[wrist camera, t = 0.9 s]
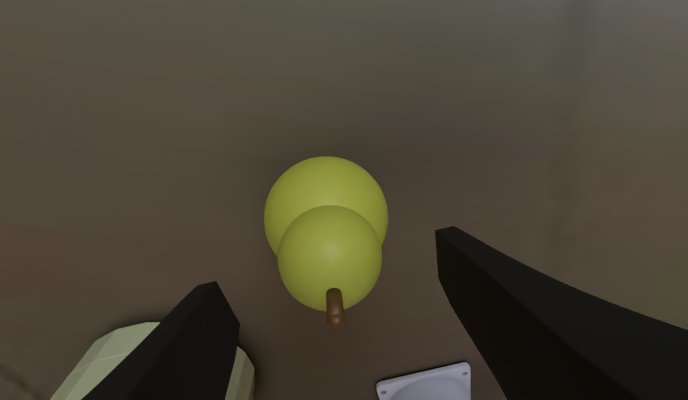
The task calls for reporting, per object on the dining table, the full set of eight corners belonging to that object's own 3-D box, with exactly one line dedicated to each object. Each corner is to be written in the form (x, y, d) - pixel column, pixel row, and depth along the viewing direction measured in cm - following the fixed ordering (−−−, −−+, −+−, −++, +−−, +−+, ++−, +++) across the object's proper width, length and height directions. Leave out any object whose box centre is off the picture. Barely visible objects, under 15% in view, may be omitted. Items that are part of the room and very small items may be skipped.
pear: (380, 221, 17) (442, 366, 9) (289, 242, 17) (269, 407, 9) (364, 130, 14) (431, 217, 6) (258, 155, 14) (189, 273, 6)
